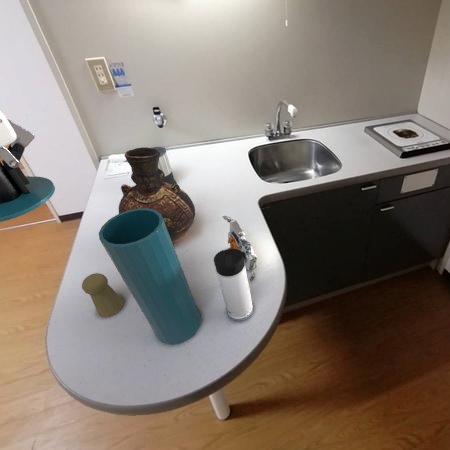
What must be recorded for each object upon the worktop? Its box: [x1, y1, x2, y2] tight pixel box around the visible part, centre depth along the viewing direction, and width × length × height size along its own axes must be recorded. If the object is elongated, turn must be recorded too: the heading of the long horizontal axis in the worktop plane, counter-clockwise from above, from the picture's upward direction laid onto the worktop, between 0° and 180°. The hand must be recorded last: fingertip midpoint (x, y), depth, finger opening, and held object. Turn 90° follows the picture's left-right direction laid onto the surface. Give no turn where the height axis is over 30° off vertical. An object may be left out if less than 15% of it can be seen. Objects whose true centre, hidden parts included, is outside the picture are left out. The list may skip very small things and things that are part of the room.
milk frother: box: [130, 146, 178, 184], centre depth 114 cm, size 14×16×15 cm
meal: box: [222, 215, 258, 281], centre depth 85 cm, size 15×4×13 cm, turn 35°
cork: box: [81, 272, 125, 318], centre depth 75 cm, size 6×6×11 cm
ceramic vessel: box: [118, 146, 196, 244], centre depth 89 cm, size 21×18×30 cm
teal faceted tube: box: [98, 208, 202, 345], centre depth 64 cm, size 10×10×32 cm
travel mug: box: [213, 248, 254, 322], centre depth 71 cm, size 6×7×20 cm
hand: (6, 195), depth 44 cm, fingers closed on lid, 3 cm apart
